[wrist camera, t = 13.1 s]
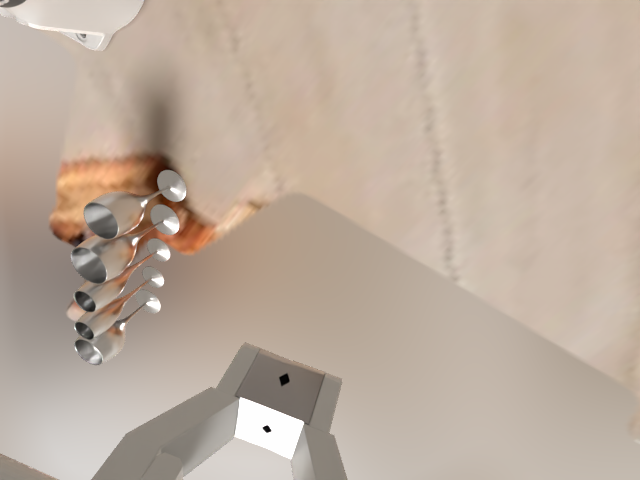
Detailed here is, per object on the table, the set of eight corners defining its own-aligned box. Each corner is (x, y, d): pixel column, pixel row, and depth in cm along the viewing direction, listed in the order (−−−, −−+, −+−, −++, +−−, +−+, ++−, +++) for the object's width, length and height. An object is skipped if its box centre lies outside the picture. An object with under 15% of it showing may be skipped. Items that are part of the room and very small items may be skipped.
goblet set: (156, 160, 47) (66, 194, 36) (194, 180, 47) (116, 221, 36) (131, 304, 62) (62, 360, 50) (160, 320, 62) (97, 381, 50)
